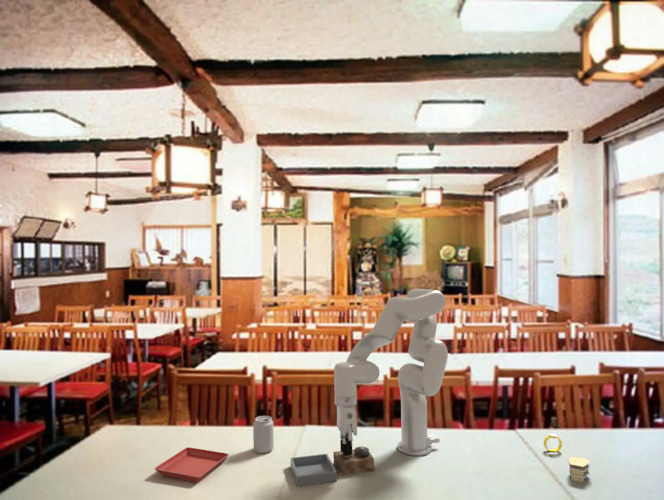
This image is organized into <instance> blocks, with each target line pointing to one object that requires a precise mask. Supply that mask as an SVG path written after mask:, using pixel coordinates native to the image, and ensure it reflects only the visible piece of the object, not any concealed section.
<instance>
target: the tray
mask: <svg viewBox="0 0 664 500" xmlns="http://www.w3.org/2000/svg"><path fill="white" fill-rule="evenodd" d="M290 469H291V472H292V475H293V476H292V477H294V481H295V485H296V487H302V486H311V485H318V484H323V483H324V484H325V483H332V482H337V481H338V479H337V478H338V477H337V472H338V471H337V469H336V467H335V465H334V463H333V462H332V460H331V458H330V456H329V454H328V453H320V454H312V455H303V456H296V457H290Z"/></svg>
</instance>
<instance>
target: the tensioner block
mask: <svg viewBox="0 0 664 500" xmlns="http://www.w3.org/2000/svg"><path fill="white" fill-rule="evenodd" d="M333 466H334V468H335V470H336V472H338V474H339V476H346V475H353V474H360V473H366V472H367V473H368V472H374V471H375V458H374V457H373V455H372V454H371V452H370V449H369V448H368V447H366V446H357V447H355V448H354V449H352V455H350V458H346V459H343V452H341V450H338V451H337V450H336V451H333Z"/></svg>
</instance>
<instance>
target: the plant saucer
mask: <svg viewBox="0 0 664 500" xmlns="http://www.w3.org/2000/svg"><path fill="white" fill-rule="evenodd" d="M228 457H229V453H226V452H220V451H215V450H209V449H208V450H207V449H202V448H195V447H189V446H188V447H185V448H183V449H182V450H181V451H179V452H178V453H176V454H174V455H173V456H171V457H170V458H168V459H166V460H165V461H163V462H161V463H160V464H159V465H158V466H156V467H155V468H154V470H155V471H156V473H158V474H159V475H161V476H162V477H166V478H172V479H177V480H183V481H189V482H193V483H199V482H201V481H202V480H203V479H205V477H207V476H208V475H209V474H210V473H212V472H213V471H214V470H216V469H217V468H218V467H219V466H221V465H222V464H223V463H224V462H225V461H226V459H227V458H228Z"/></svg>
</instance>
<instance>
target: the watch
mask: <svg viewBox="0 0 664 500" xmlns="http://www.w3.org/2000/svg"><path fill="white" fill-rule="evenodd" d="M551 438H552V439H557V440H558V446H557V447H556V448H555V449H554V448H552V449H551V448H550V449H549V448H548V446H547V442H548V440H549V439H551ZM562 443H563V442H562V440H561V439H560V437H558V435H557V434H555V433H548V435H547V436H546V437H545V438H544V440H543V446H544V448H545V449H546V450H547V451H548V452H555V453H558V452H559V451H560V450H561V449H562V447H563V444H562Z"/></svg>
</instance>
